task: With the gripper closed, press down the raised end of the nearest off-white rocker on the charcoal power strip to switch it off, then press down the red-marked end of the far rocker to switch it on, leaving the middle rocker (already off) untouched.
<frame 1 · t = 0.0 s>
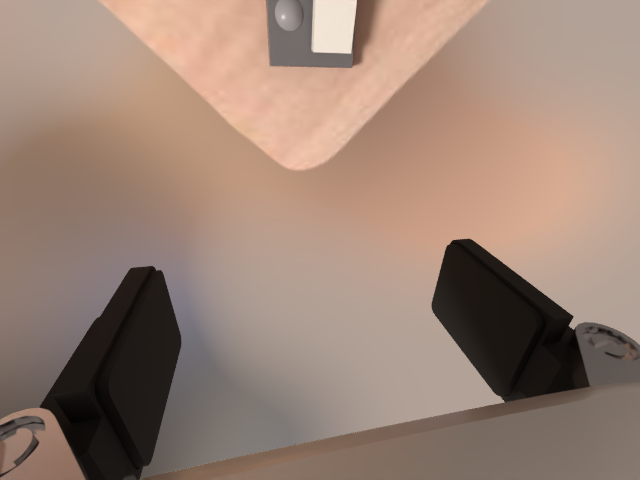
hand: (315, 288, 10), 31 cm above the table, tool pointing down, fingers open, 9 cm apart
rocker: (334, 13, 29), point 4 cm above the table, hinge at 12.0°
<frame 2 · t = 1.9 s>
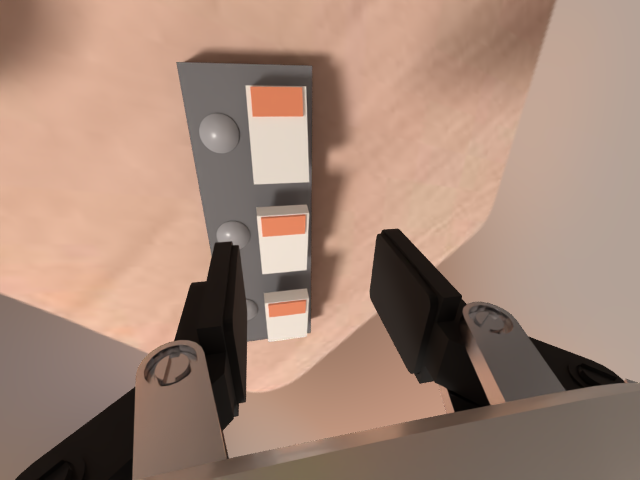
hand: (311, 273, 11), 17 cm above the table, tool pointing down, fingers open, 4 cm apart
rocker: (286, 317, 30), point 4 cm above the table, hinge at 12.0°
strip: (260, 223, 28), on the table
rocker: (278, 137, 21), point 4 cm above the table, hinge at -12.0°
rocker middle: (283, 241, 25), point 4 cm above the table, hinge at 12.0°
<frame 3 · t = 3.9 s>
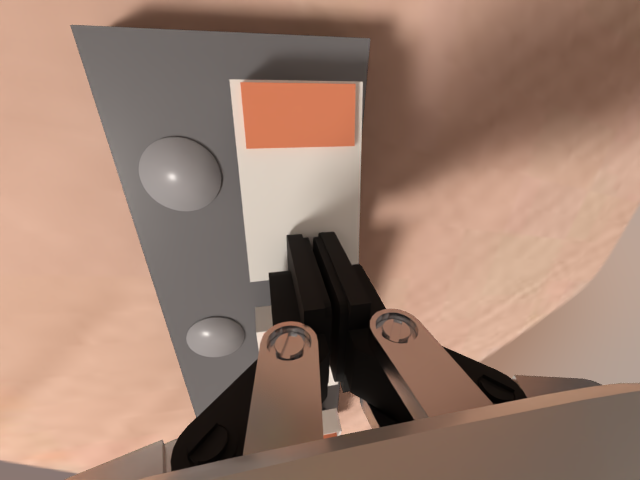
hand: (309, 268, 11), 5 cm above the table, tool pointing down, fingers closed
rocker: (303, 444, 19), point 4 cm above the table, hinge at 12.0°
strip: (262, 304, 18), on the table
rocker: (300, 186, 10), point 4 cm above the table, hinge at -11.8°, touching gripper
rocker middle: (302, 353, 15), point 4 cm above the table, hinge at 12.0°
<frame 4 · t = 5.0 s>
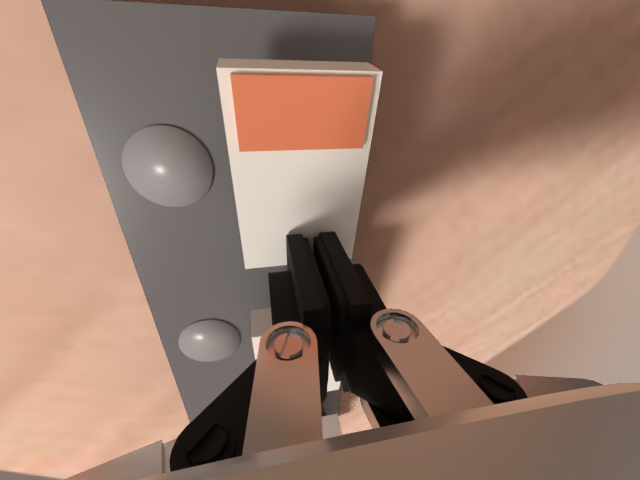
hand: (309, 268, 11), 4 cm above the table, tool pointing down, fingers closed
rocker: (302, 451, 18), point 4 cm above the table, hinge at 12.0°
strip: (259, 306, 17), on the table
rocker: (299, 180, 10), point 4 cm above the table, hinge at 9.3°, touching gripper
rocker middle: (301, 357, 14), point 4 cm above the table, hinge at 12.0°
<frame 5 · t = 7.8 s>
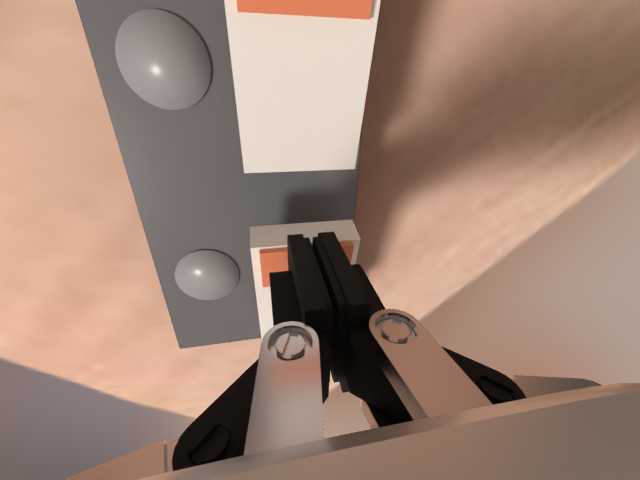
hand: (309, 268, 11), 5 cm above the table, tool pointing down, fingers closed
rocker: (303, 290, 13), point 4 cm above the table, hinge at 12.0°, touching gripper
strip: (242, 65, 12), on the table
rocker middle: (301, 67, 9), point 4 cm above the table, hinge at 12.0°
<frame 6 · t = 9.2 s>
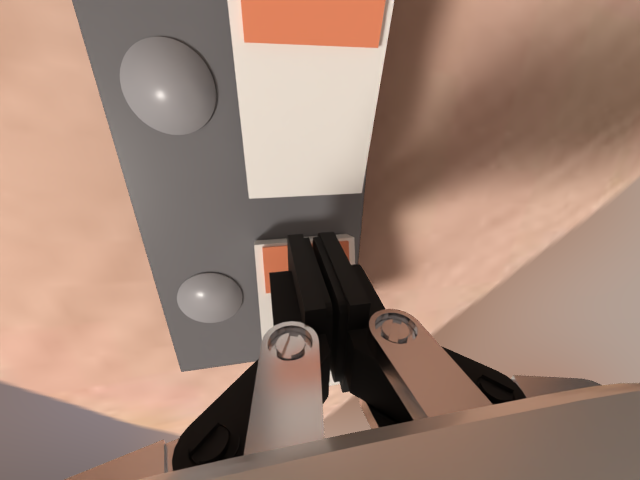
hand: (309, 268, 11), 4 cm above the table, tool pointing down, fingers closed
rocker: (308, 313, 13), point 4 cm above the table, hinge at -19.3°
strip: (247, 88, 12), on the table
rocker middle: (308, 93, 9), point 4 cm above the table, hinge at 12.0°
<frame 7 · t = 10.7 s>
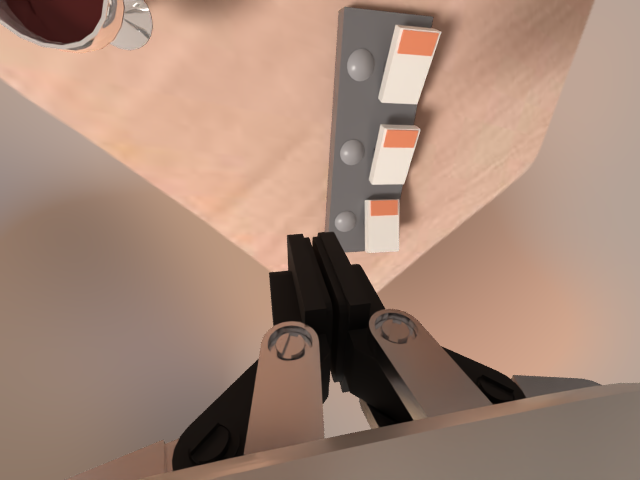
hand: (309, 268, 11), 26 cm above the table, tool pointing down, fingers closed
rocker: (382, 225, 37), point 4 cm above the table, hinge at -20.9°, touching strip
strip: (366, 149, 36), on the table
wineglass: (121, 16, 26), on the table
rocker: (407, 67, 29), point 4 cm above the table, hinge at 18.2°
rocker middle: (393, 156, 33), point 4 cm above the table, hinge at 12.0°
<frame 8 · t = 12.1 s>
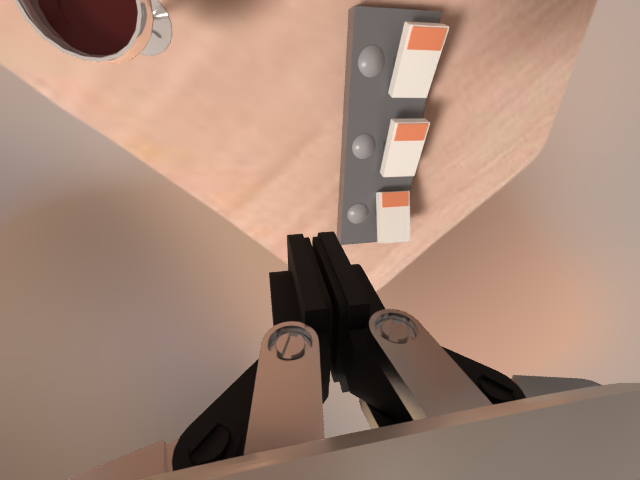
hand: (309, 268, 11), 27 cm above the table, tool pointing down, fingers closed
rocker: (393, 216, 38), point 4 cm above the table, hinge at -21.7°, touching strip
strip: (376, 142, 37), on the table
wineglass: (142, 24, 28), on the table
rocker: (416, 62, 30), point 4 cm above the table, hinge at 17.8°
rocker middle: (403, 149, 34), point 4 cm above the table, hinge at 12.0°
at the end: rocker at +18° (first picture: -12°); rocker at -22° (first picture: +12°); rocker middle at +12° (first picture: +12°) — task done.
